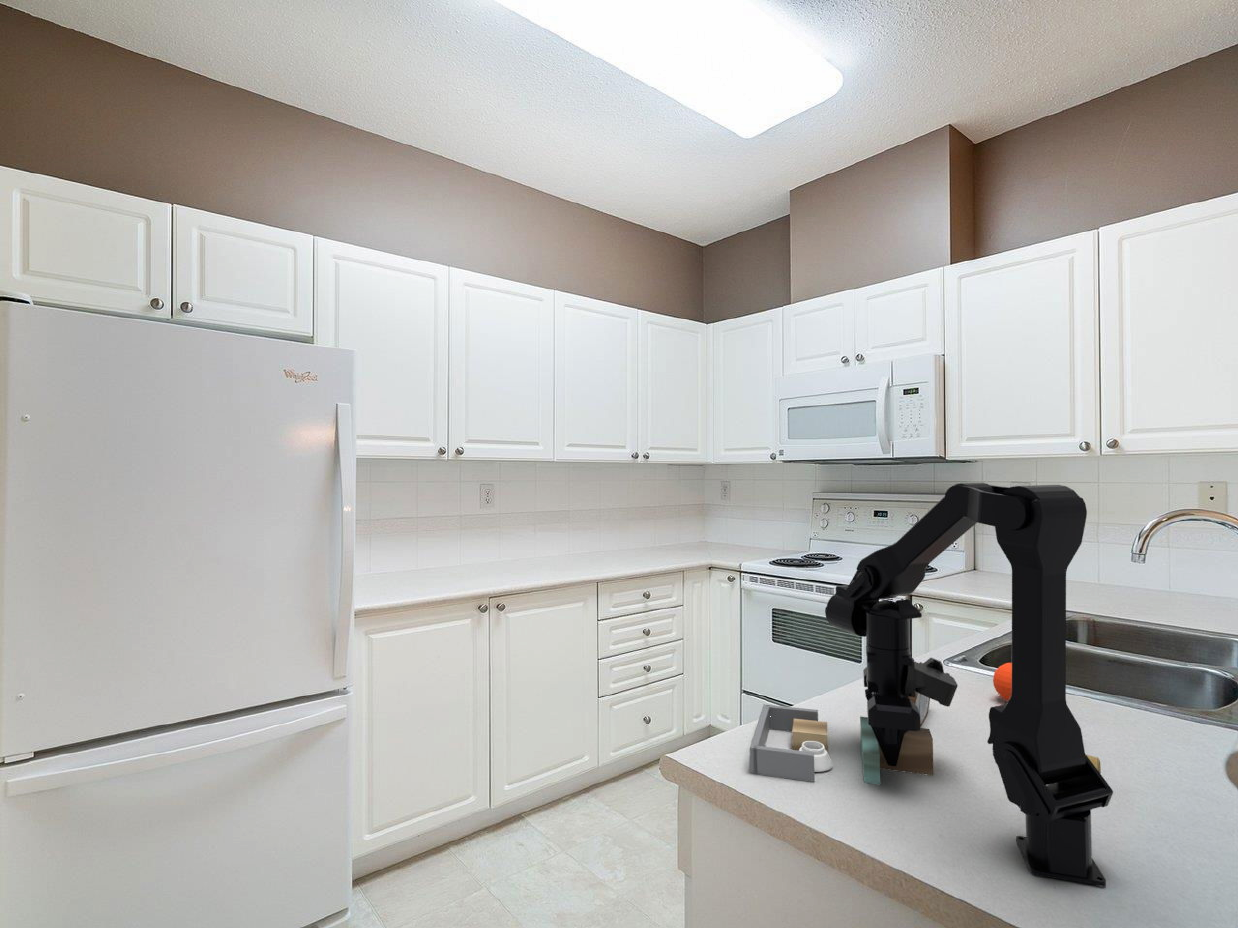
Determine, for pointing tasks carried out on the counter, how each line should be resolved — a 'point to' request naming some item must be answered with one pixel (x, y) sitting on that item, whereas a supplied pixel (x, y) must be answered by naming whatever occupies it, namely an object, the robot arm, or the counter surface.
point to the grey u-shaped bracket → (778, 759)
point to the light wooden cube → (809, 733)
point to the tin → (921, 705)
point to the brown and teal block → (911, 758)
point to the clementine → (1003, 681)
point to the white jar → (818, 755)
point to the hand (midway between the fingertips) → (890, 755)
